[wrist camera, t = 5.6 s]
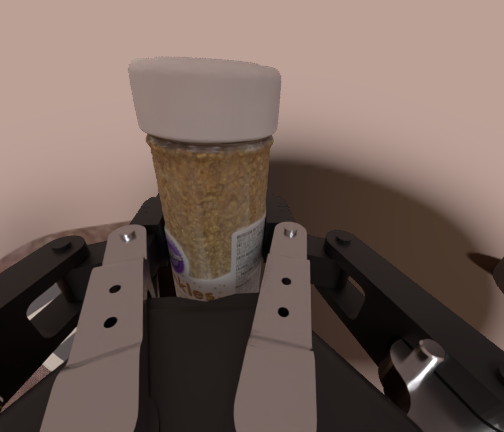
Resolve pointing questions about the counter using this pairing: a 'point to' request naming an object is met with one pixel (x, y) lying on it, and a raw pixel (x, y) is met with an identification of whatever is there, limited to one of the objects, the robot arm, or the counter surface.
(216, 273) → the sprinkles bottle
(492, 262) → the counter surface
